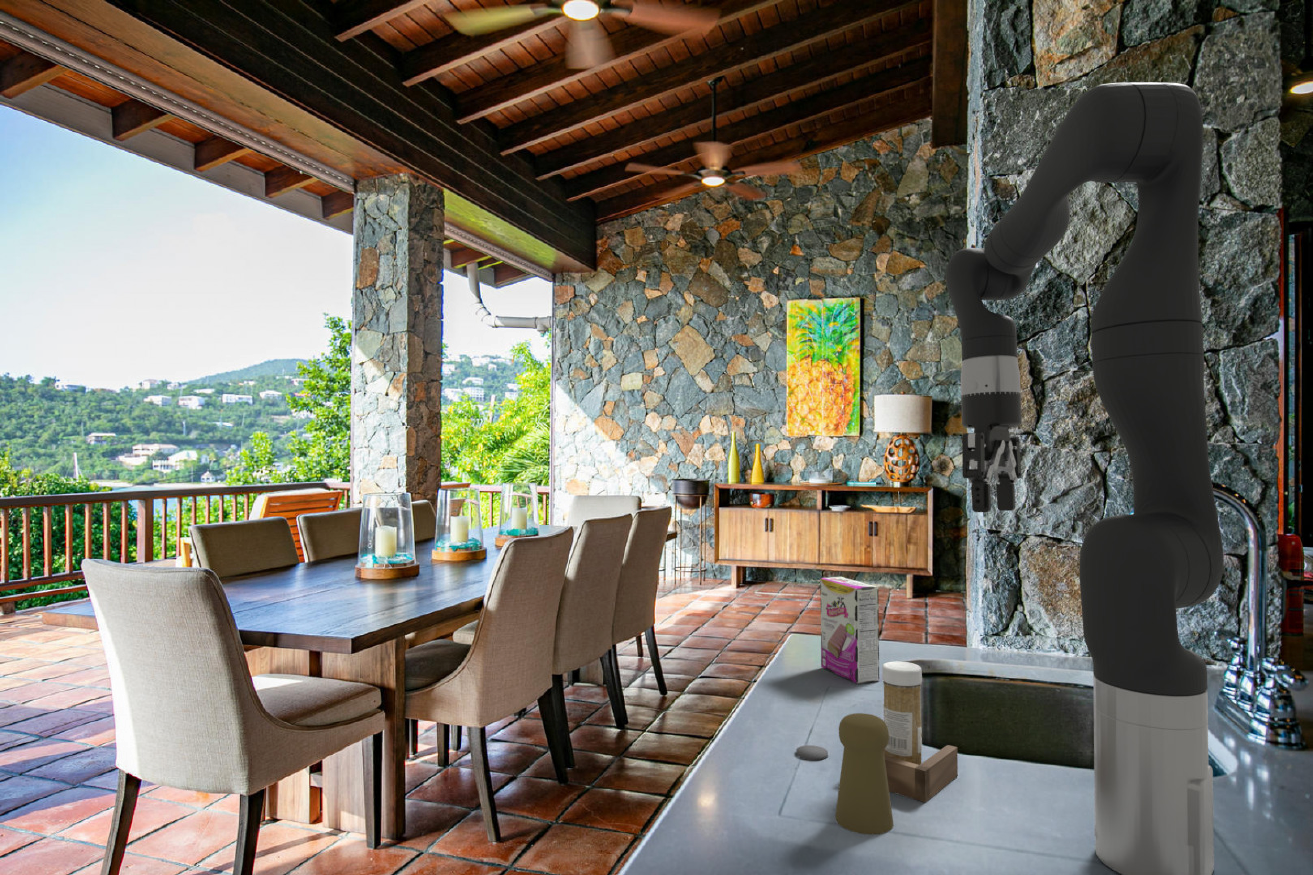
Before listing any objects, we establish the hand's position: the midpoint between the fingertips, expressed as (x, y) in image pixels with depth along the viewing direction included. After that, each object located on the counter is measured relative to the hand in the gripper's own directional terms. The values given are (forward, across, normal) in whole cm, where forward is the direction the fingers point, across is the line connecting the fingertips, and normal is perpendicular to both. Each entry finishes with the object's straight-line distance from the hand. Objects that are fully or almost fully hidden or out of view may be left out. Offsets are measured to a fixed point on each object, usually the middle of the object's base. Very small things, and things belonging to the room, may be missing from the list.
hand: (994, 511), depth 106 cm
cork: (+32, -32, +2) cm, 45 cm away
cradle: (+32, -19, +5) cm, 37 cm away
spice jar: (+32, -18, +5) cm, 37 cm away
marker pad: (+31, -20, +17) cm, 41 cm away
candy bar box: (+30, +15, +32) cm, 46 cm away
